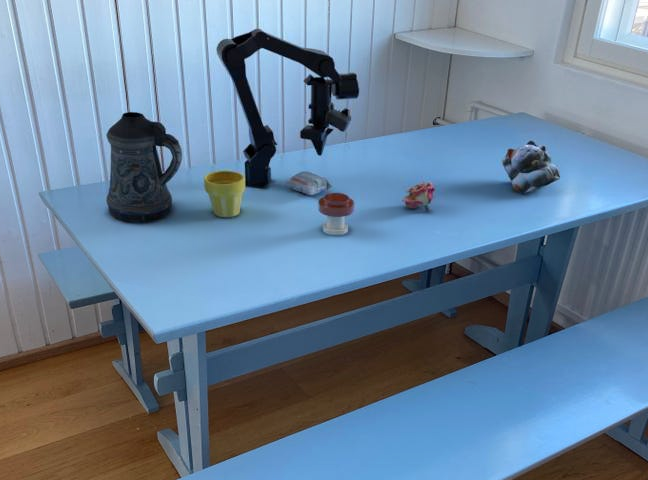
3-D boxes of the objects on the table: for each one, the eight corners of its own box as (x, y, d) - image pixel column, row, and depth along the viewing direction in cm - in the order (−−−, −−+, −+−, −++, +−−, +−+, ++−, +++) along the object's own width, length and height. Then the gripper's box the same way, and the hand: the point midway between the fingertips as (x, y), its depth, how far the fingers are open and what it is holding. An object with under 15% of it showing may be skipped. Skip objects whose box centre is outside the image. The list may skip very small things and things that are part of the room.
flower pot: (208, 204, 198) (205, 169, 192) (247, 204, 199) (245, 169, 193) (205, 220, 189) (202, 184, 184) (245, 220, 190) (244, 184, 185)
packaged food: (311, 201, 202) (312, 184, 199) (281, 189, 208) (281, 172, 205) (333, 193, 208) (333, 177, 205) (302, 182, 214) (303, 165, 211)
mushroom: (313, 234, 185) (313, 201, 180) (323, 220, 193) (324, 188, 187) (347, 240, 184) (348, 207, 179) (357, 225, 191) (358, 193, 186)
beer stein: (104, 202, 196) (88, 107, 181) (176, 193, 203) (167, 101, 188) (113, 227, 184) (97, 127, 169) (190, 217, 190) (182, 120, 176)
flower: (445, 201, 202) (433, 174, 200) (438, 207, 194) (425, 179, 192) (414, 216, 206) (402, 190, 205) (406, 222, 198) (393, 195, 197)
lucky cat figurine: (516, 196, 211) (504, 148, 208) (506, 197, 223) (495, 151, 220) (566, 181, 211) (555, 132, 208) (553, 182, 223) (543, 136, 220)
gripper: (339, 113, 195) (337, 169, 204) (357, 95, 210) (355, 148, 219) (299, 108, 198) (299, 164, 206) (320, 90, 212) (319, 143, 221)
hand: (319, 155), depth 213 cm, fingers closed
